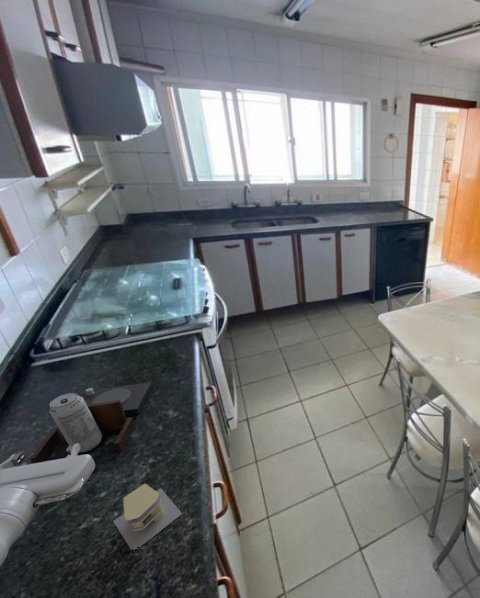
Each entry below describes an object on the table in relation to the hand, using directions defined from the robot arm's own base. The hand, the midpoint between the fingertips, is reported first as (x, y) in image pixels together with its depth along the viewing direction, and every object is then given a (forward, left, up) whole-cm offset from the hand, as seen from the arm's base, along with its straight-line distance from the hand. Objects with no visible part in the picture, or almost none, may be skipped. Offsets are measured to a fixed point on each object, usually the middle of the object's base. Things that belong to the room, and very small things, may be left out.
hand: (48, 450), depth 70 cm
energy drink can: (0, +11, -10) cm, 15 cm away
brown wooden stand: (0, +11, -10) cm, 15 cm away
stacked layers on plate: (+20, -14, -10) cm, 26 cm away
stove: (0, +26, -10) cm, 28 cm away
